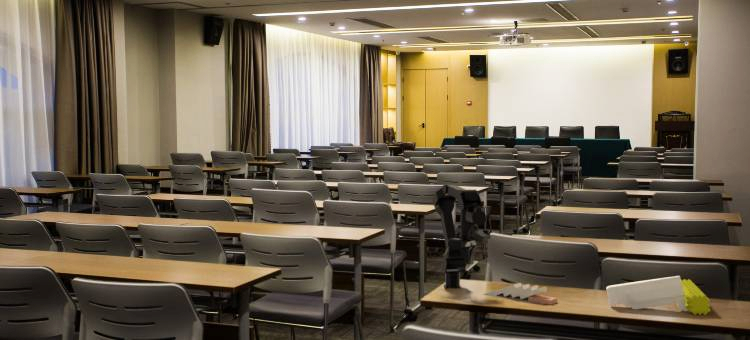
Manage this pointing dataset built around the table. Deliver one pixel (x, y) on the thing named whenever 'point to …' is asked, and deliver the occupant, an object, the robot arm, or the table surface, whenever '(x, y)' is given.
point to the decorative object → (695, 298)
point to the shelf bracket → (648, 293)
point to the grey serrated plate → (509, 297)
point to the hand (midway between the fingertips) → (467, 263)
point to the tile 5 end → (542, 299)
